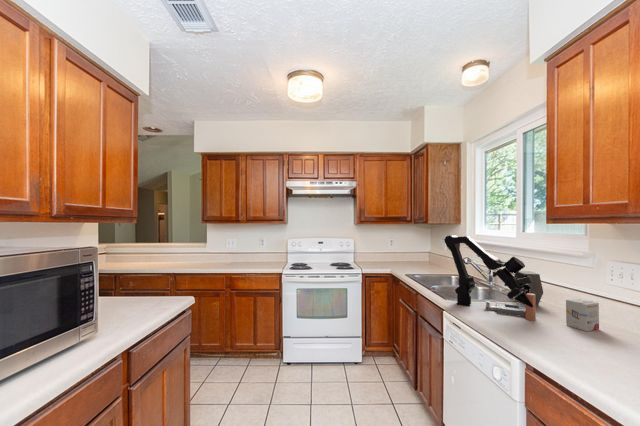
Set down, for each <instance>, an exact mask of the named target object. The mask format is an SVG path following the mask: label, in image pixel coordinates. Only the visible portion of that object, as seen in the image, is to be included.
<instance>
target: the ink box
mask: <svg viewBox="0 0 640 426" xmlns="http://www.w3.org/2000/svg"><path fill="white" fill-rule="evenodd" d="M599 305H600V304H599V302H595V301H593V300H587V299H582V298H573V299H566V300H565V312H566V313H565V319H566V320H565V321H566V322H565V323H566V324H565V325H566V326H567V327H571V328H575V329H578V330H581V331H584V332H590V331H591V332H592V331H596V330H597V331H598V330H599V329H600V306H599Z"/></svg>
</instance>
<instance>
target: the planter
mask: <svg viewBox="0 0 640 426" xmlns="http://www.w3.org/2000/svg"><path fill="white" fill-rule="evenodd" d="M527 274H528V275H529V276H531V277H532V278H533V279H532V280H533V282H532V283H530V285H531V286H532V288H530V289H531V291H530V293H532V294H536V306H538V305H539V304H540V302H541V299H542V297H543V295H544V289H543V288H544V287H543V285H542V280H541V276H540V273H537V272H534V271H529V270H520V271H519V272H517V273H516V274H515V273H514V275H513V276H514V277H518V278H519V279H521V278H524V275H527ZM514 298H516V296H515V297H513V299H514ZM516 301H517V302H519V304H522V305H525V304H524V303H522V302H520V301H518V300H516Z"/></svg>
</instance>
